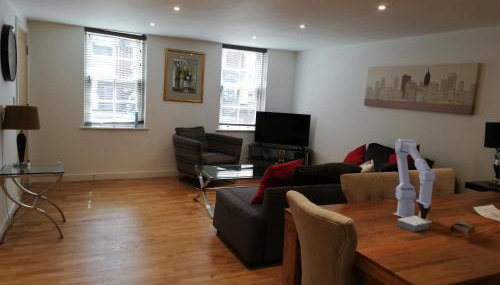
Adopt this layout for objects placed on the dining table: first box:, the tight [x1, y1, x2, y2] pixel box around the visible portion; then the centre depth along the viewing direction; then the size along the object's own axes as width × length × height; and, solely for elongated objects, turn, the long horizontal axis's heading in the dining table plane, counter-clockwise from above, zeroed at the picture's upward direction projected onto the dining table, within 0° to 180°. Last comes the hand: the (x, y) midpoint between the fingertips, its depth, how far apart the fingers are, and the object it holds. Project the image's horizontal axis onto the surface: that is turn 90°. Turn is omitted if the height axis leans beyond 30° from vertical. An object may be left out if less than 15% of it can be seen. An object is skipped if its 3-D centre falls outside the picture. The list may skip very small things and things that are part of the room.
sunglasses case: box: [449, 218, 475, 236], centre depth 189 cm, size 18×7×7 cm, turn 139°
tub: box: [397, 220, 430, 233], centre depth 187 cm, size 13×9×3 cm
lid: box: [397, 211, 433, 226], centre depth 187 cm, size 15×10×5 cm, turn 122°
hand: (422, 217), depth 191 cm, fingers closed on lid, 4 cm apart
